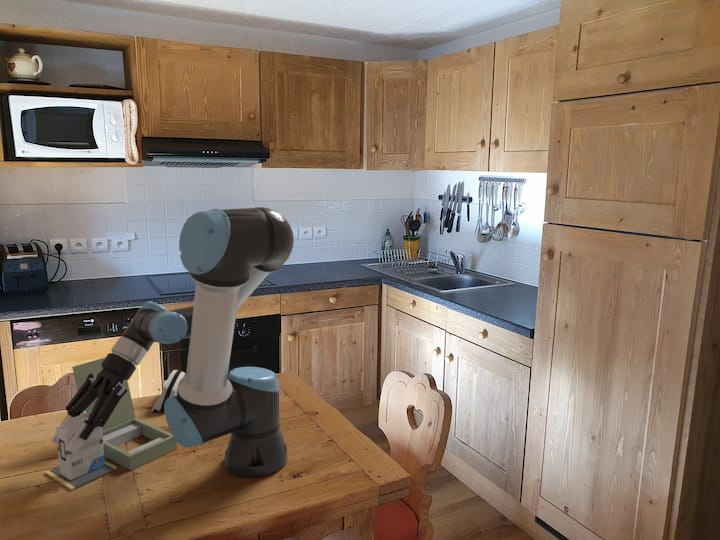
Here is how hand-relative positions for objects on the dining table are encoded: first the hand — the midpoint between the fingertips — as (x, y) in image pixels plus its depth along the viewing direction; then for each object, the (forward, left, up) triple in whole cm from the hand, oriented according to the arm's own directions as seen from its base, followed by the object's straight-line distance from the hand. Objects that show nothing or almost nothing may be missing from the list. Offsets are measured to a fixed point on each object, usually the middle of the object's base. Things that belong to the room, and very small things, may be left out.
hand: (63, 447), depth 126 cm
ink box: (0, -4, -7) cm, 8 cm away
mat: (0, -4, -8) cm, 9 cm away
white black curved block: (+17, -41, -8) cm, 45 cm away
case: (+3, -17, -8) cm, 19 cm away
